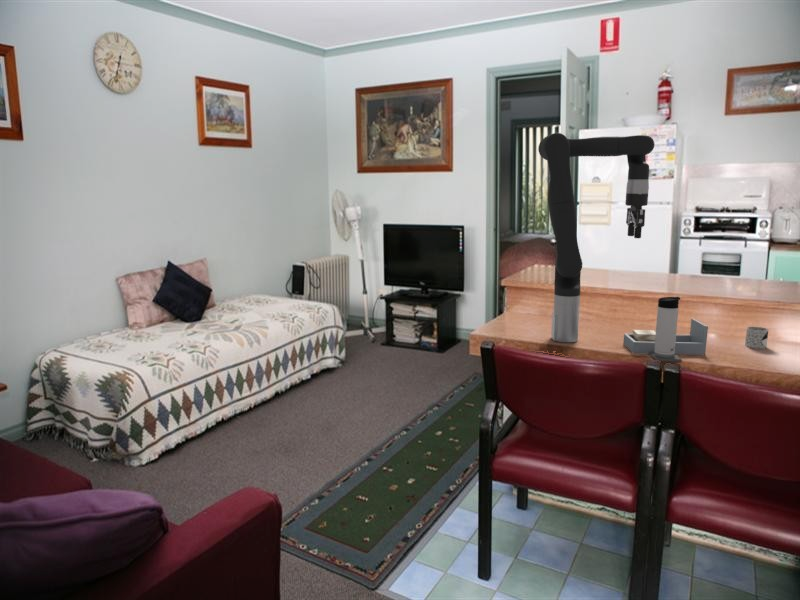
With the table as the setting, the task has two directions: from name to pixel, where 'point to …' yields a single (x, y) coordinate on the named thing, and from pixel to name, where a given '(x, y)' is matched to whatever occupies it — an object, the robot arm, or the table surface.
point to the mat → (673, 359)
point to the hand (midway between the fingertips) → (634, 237)
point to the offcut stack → (644, 335)
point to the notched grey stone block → (756, 337)
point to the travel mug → (666, 327)
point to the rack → (683, 345)
